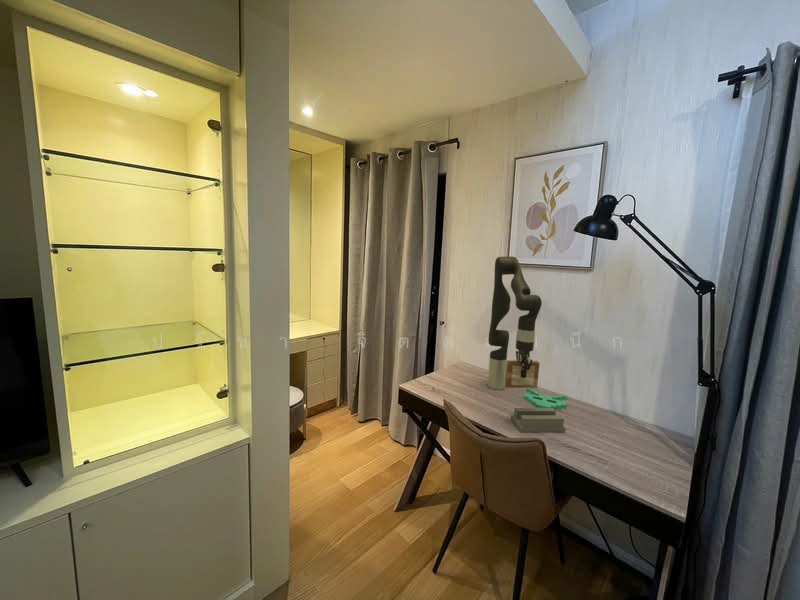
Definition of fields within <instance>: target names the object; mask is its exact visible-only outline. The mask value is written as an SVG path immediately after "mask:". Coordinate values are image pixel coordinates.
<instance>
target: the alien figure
mask: <svg viewBox="0 0 800 600" xmlns="http://www.w3.org/2000/svg"><path fill="white" fill-rule="evenodd" d="M526 392H527V393H526ZM526 392H525V393H524V395H523V400H525V401H527V403H530V404H531V405H532V406H534V407H535V408H553V409H554V410H555V411H556V409H557V410H561V409H566V408H567V401H566V400H567V398H568V395H567V394H563V393H562V395H559V394H558V395H557V396H556V395H552V396H549V395H545V394H544V395H543V394H540V392H539V391H538V392H537V391H536V390H535V389H533V388H526ZM564 400H565V401H564Z"/></svg>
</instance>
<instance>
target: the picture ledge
mask: <svg viewBox="0 0 800 600" xmlns="http://www.w3.org/2000/svg"><path fill="white" fill-rule="evenodd" d="M513 411H514V412H513V414H512V415H511V416H510V420H511V421H512V423H513V424H514V426H515V427H516V428H517V429H518V431H519V432H520V433H566V429H567V428H566V426H564V423H565V421H564V420H565V418H564V417H563V416H562V415H561V414H559V415H556V412H557V411H556V410H554V409H553V408H536V407H514V410H513Z"/></svg>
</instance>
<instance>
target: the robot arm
mask: <svg viewBox="0 0 800 600" xmlns="http://www.w3.org/2000/svg"><path fill="white" fill-rule="evenodd" d="M504 275H505V276H506V275H513V277H512V279H511V282H510V288H511V290H512V293H513V294H514V297H515V306H516V308H517V309H518V310H520V311H524V312H525V311H527V312H528V313H527V314H523V315H521V316H518V322H517V330H516V331H517V332H516V338H515V341H516V342H515V349H516V351H515V357H516V358H515V361H520V364H521V378H526V373H527V370H529V369H530V367H531V364H532V361H533V359H532V358H530V357H531V353H530V352H533V351H534V346H535V338H536V336H535V334H536V333H535V331H536V330H535V329H536V321H537V319H538V318H537V317H538V316H539V313H540V311H541V308H542V304H543V303H542V299H541V297H540V296H539V295H537V294H531V292H532V290H531V288H530V286H529V285H528V284H527V282H526V279H525V278H524V275H523V270H522V268H521V265H520V262H519V260H518V258H517V257H516V256H512V255H511V256H499V257H498V256H497V257H496V259H495V261H494V282H493V295H492V300H491V302H492V303H491V316H490V317H491V318H490V325H489V326H490V327H489V331H488V332H489V333H488V345H490V346H491V347H492V346H493V347H499V348H497V349H495V350H492V351H490V352H489V363H488V374H487V375H488V376H487V377H488V378H487V386H488V388H490V389H492V390H504V389H505V375H506V363H507V359H508V350H509V344H510V333H509V331H508V330H504V329H497V327H498V325H499V324H500V322H501V321H502V320H503V319H504V318H505V317H506V316H507V315H508V313H509V312H510V309H511V296H510V293H509V291H508V290H507V289H506V286H505V284H504V282H503V276H504ZM523 362H525V363H523Z"/></svg>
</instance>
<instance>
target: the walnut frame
mask: <svg viewBox="0 0 800 600" xmlns="http://www.w3.org/2000/svg"><path fill="white" fill-rule="evenodd" d="M523 363H525V362H523ZM539 371H540V361H538V360H532V364H531V367H530V369H529V370H527V373H526V378H521V364H520V361H516V360H507V362H506V374H505V385H504V388H507V389H508V388H509V389H510V388H511V389H527V388H532V389H538V382H539Z"/></svg>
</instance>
